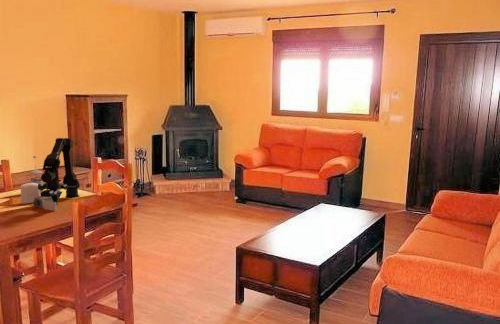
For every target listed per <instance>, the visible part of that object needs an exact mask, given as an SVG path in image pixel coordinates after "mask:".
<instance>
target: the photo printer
mask: <svg viewBox="0 0 500 324" xmlns="http://www.w3.org/2000/svg"><path fill="white" fill-rule="evenodd" d="M38 196H41V194H39V189H38V184H37V183H30V182H29V183H28V182H26V183H24V184H21V185H20V201H21V204H22V205H25V204H26V205H27V204H33V201H34V198H35V197H38Z"/></svg>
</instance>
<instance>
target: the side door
mask: <svg viewBox="0 0 500 324" xmlns="http://www.w3.org/2000/svg"><path fill="white" fill-rule="evenodd" d="M42 207H43V209H42V210H44V209H45V210H50V211H57V209H58V208H57V205H56V202H51V201H44V200H42Z"/></svg>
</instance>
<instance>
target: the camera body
mask: <svg viewBox="0 0 500 324" xmlns="http://www.w3.org/2000/svg"><path fill="white" fill-rule="evenodd" d="M42 200H44V201H51V202H53V200H52V198H51V197H41V195H40V196H38V197H35V198H34V201H33V203H32V204H33V206H34V207H35V208H39V209H42V210H44V209H43V207H42ZM58 205H59V201H58V202H57V204H56V206H58Z"/></svg>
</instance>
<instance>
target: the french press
mask: <svg viewBox="0 0 500 324" xmlns="http://www.w3.org/2000/svg"><path fill="white" fill-rule="evenodd" d="M32 158H34V159H36V158H37V156H36V155H33V156H32ZM34 165H35V166H34V167H35V169H34V170H31V171H30V172H29V174H28V175H27V176H26V177H25V179H26V180H25V181H26V183H37V184H41V183H42V184H44V182H43V181H42V180H41V177H38V176H35V177H32V175H40V174H41V175H42V174H43V173H44V172H43V170H42V171H41V170H38V169H37V167H36V164H34ZM29 177H31V178H30V181H29V180H28V178H29ZM44 190H45V189H44ZM44 190H42V191H44ZM42 191H41V190H39V194H40V193H41V192H42ZM40 195H41V194H40Z"/></svg>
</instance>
